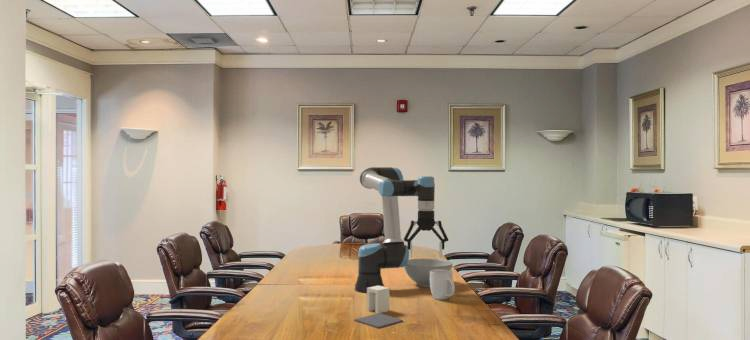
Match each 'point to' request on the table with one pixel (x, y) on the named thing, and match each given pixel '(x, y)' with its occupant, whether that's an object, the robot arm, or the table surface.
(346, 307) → the table surface
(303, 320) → the table surface
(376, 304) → the white upright block
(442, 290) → the mug
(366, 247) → the robot arm
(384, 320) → the mat
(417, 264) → the decorative bowl
